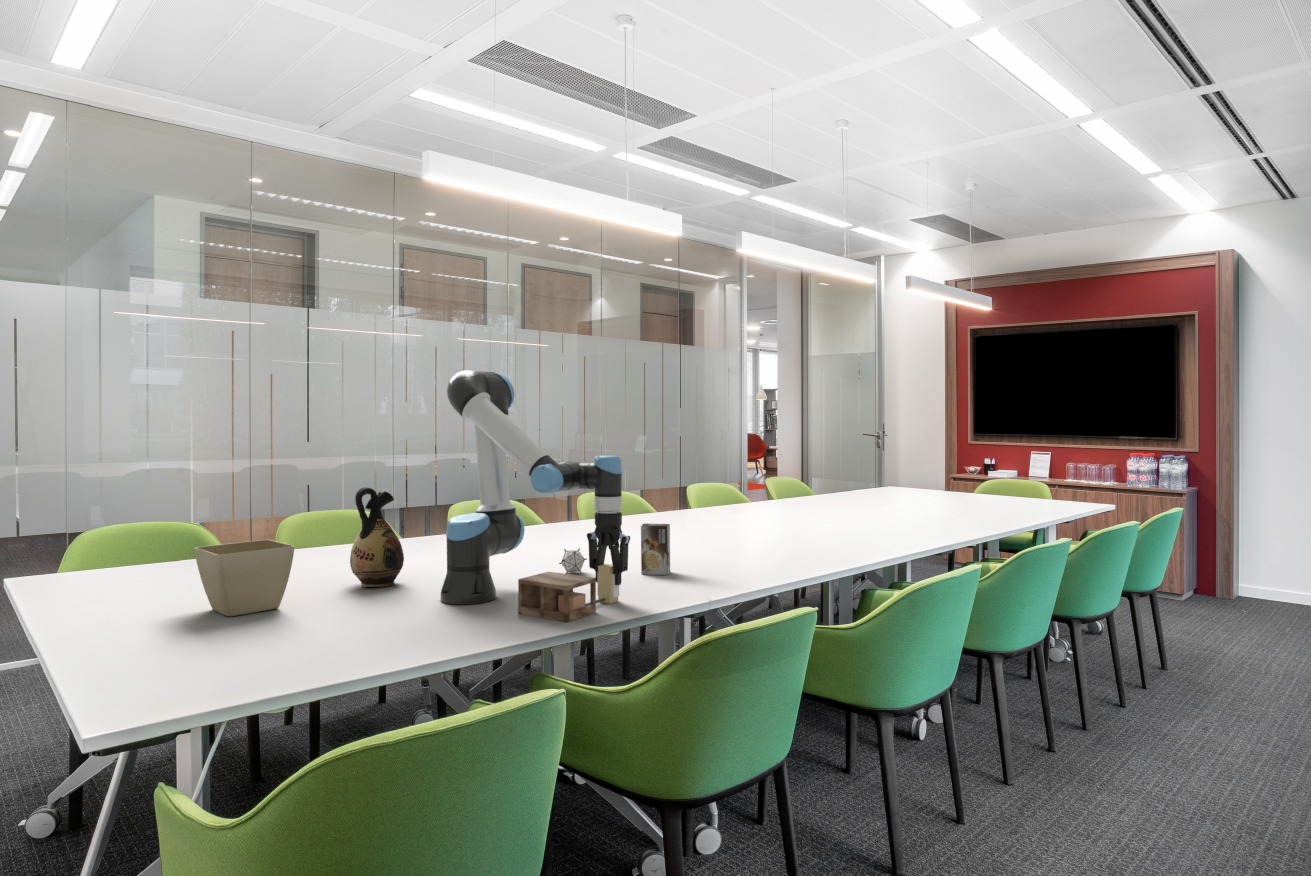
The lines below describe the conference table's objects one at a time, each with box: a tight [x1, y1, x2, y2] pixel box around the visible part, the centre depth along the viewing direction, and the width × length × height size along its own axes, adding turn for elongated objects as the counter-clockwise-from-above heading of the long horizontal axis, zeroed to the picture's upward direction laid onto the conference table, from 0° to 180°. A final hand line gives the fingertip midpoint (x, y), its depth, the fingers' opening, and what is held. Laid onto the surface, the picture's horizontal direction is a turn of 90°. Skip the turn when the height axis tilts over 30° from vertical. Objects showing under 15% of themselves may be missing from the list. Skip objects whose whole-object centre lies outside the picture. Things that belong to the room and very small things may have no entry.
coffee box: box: [640, 523, 671, 576], centre depth 253 cm, size 9×6×16 cm
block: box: [558, 563, 619, 612], centre depth 206 cm, size 20×5×10 cm, turn 147°
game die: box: [558, 547, 588, 574], centre depth 253 cm, size 9×8×10 cm
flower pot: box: [193, 539, 296, 617], centre depth 204 cm, size 19×19×17 cm
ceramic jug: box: [349, 486, 405, 588], centre depth 234 cm, size 17×15×30 cm
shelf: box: [517, 571, 597, 623], centre depth 200 cm, size 12×16×9 cm
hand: (608, 595), depth 213 cm, fingers closed on block, 4 cm apart
